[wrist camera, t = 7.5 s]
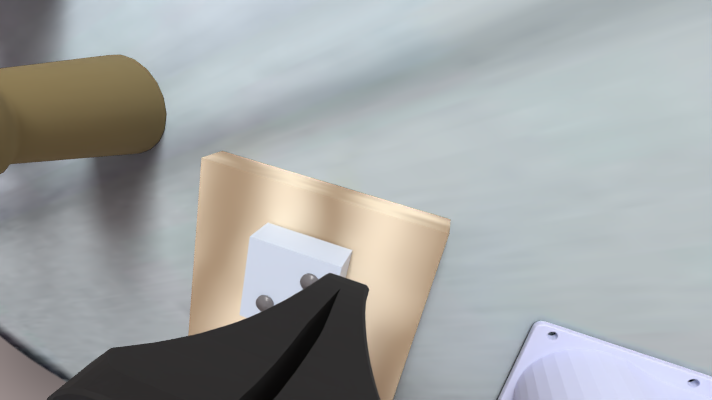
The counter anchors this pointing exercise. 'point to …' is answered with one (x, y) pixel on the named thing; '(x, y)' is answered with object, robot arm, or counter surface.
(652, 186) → the counter surface
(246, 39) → the counter surface
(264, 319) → the robot arm
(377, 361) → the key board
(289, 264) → the tile two
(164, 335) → the counter surface
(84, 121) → the cork
